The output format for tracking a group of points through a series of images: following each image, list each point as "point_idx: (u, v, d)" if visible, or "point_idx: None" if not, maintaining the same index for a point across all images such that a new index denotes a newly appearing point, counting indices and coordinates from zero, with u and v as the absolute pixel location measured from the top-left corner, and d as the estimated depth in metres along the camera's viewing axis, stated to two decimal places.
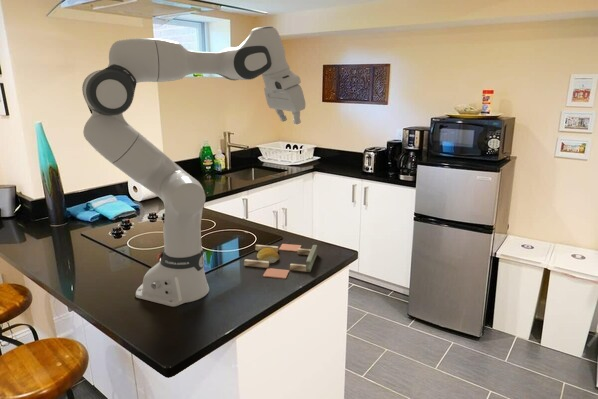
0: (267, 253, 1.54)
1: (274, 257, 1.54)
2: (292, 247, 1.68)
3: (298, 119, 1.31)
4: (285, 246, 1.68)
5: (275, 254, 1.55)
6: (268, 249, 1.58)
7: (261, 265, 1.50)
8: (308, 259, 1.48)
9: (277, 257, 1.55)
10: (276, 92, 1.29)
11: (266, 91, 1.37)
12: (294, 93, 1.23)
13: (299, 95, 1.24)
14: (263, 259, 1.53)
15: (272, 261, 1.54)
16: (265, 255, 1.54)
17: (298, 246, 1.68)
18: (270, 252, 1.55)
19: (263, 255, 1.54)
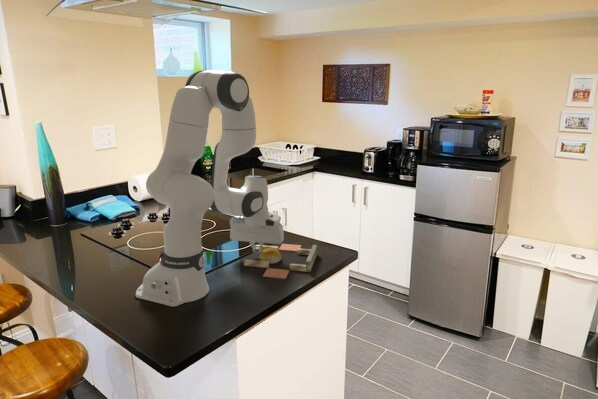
0: (270, 253, 1.54)
1: (277, 257, 1.53)
2: (292, 247, 1.68)
3: (260, 249, 1.58)
4: (285, 246, 1.68)
5: (278, 254, 1.54)
6: (270, 249, 1.57)
7: (261, 265, 1.50)
8: (308, 259, 1.48)
9: (280, 257, 1.54)
10: (259, 227, 1.52)
11: (236, 226, 1.55)
12: (281, 229, 1.53)
13: (282, 231, 1.55)
14: (266, 259, 1.53)
15: (275, 261, 1.53)
16: (268, 255, 1.53)
17: (298, 246, 1.68)
18: (273, 252, 1.54)
19: (266, 255, 1.53)
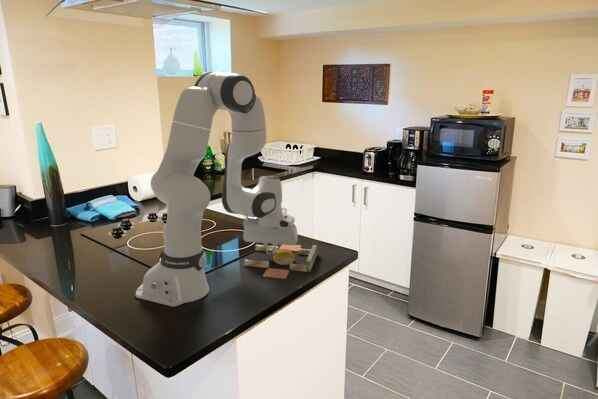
0: (283, 254, 1.53)
1: (291, 258, 1.52)
2: (292, 247, 1.68)
3: (274, 250, 1.57)
4: (285, 246, 1.68)
5: (291, 255, 1.53)
6: (284, 250, 1.56)
7: (261, 265, 1.50)
8: (308, 259, 1.48)
9: (293, 258, 1.53)
10: (273, 229, 1.51)
11: (250, 227, 1.54)
12: (295, 230, 1.52)
13: (296, 232, 1.54)
14: (279, 260, 1.52)
15: (289, 262, 1.52)
16: (281, 256, 1.52)
17: (298, 246, 1.68)
18: (286, 253, 1.53)
19: (279, 256, 1.52)
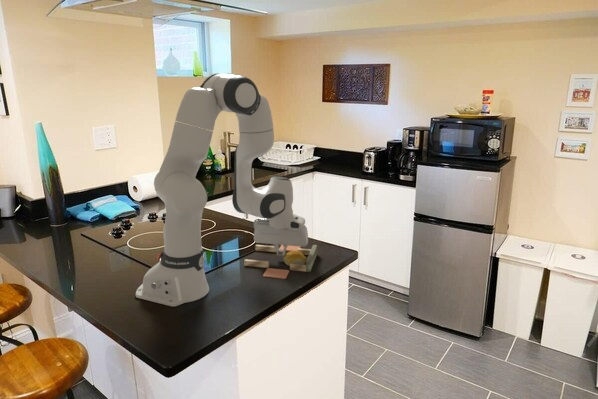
0: (295, 256, 1.52)
1: (302, 260, 1.52)
2: (292, 247, 1.68)
3: (284, 251, 1.56)
4: None
5: (303, 257, 1.53)
6: (295, 252, 1.55)
7: (261, 265, 1.50)
8: (308, 259, 1.48)
9: (305, 260, 1.53)
10: (283, 230, 1.50)
11: (260, 228, 1.53)
12: (306, 232, 1.51)
13: (307, 233, 1.53)
14: (291, 262, 1.51)
15: None
16: (293, 258, 1.51)
17: (298, 246, 1.68)
18: (298, 255, 1.52)
19: (291, 258, 1.51)
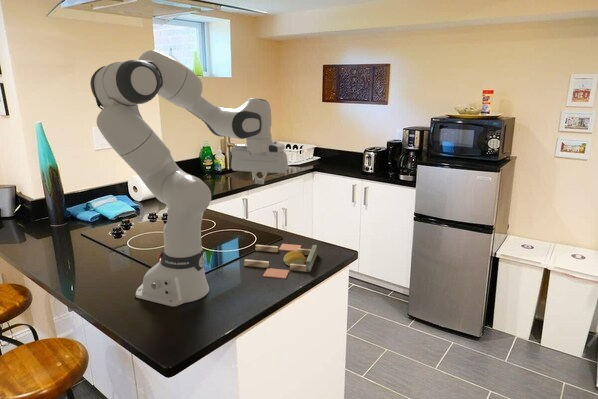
0: (295, 256, 1.52)
1: (302, 260, 1.51)
2: (292, 247, 1.68)
3: (263, 180, 1.50)
4: (285, 246, 1.68)
5: (302, 257, 1.52)
6: (295, 252, 1.55)
7: (261, 265, 1.50)
8: (308, 259, 1.48)
9: (305, 260, 1.52)
10: (261, 155, 1.44)
11: (238, 154, 1.47)
12: (285, 157, 1.45)
13: (286, 159, 1.46)
14: (291, 263, 1.51)
15: None
16: (293, 258, 1.51)
17: (298, 246, 1.68)
18: (297, 255, 1.52)
19: (291, 258, 1.51)
